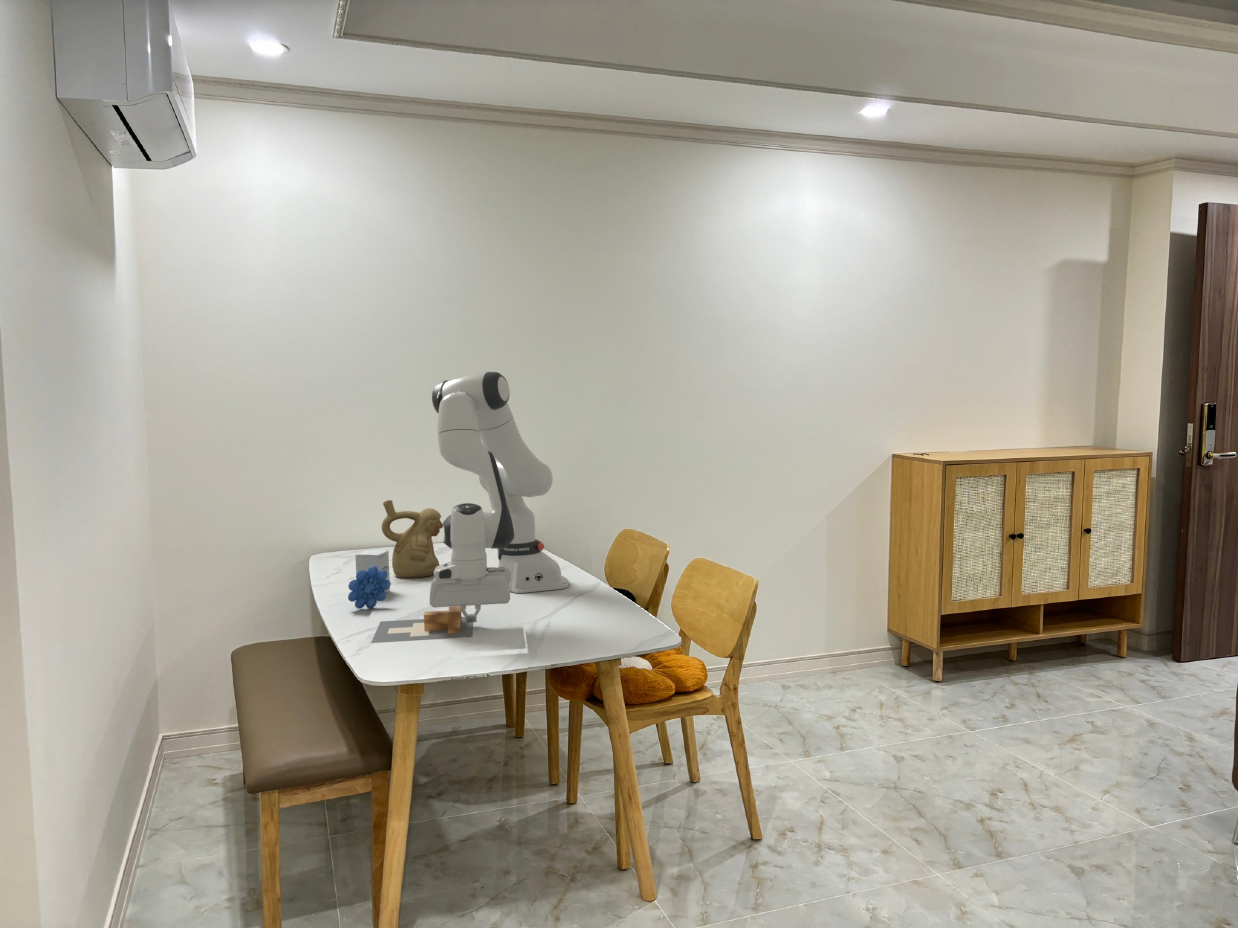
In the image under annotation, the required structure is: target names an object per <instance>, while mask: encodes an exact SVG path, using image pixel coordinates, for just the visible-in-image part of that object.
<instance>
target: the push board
mask: <svg viewBox="0 0 1238 928" xmlns="http://www.w3.org/2000/svg"><path fill="white" fill-rule="evenodd" d="M461 618H462V622H461V632H460V633H448V629H444V630H427V631H424V618H420V619H419V618H418V619H400V620H399V619H398V620H384V621H383V620H382V621H379V624H378V626H377V628H376V630H375V633H374V636H373V638H372V640H371V641H370V642H371V644H377V643H378V644H379V643H395V642H411V641H414V642H415V641H428V640H430V641H431V640H442V639H443V640H445V639H459V638H460V639H461V638H462V639H463V638H473V635H474V634H473V633H474V622H469V623H465V616H461Z"/></svg>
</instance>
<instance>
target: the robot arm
mask: <svg viewBox="0 0 1238 928" xmlns="http://www.w3.org/2000/svg"><path fill="white" fill-rule="evenodd" d="M509 399H510V387H509V384H508V381H507V378H505V376H504V375H502V374H501V373H500V372H497V371H487V372H482V373H472V374H466V375H464V376H460V377H456V378H453V379H450V380H444V381H441V382H439V383H437V384H436V385H435V386H434V388H433V390H432V394H431V402H432V405H433V408H434V410H435V412H436V413H437V441H438V448H439V453H440V455H441V457H442V458H443V459H444V460H445V461H446V462H447V463H448V464H450V465H451V466H454V467H455V468H458V469H461V470H464V471H468V472H470V473H473V474H475V475H477V476H478V478H479V483H480V485H481V487H482V488H483V489H484V490H485V491H486V493H488V494H487V495H488V498H489V502H490V503H489V504H490V506H491V509H490V510H489V511H483V507H482V506H481V505H479V504H475V503H473V502H472V503H471V502H469V503H467V502H465V503H460V504H457V505H455V506H453V507H452V509H451V514H449V515H448V516H447V517H446V518H445V519H444V521H443V522H442V524H443V541H442V542H443V544H444V545H445V546H447V547H448V548H450V549H451V551H452V552H451V556H450V559H451V561H448V562H445V563H443V564H439V566H437V567H436V568H435V570H434V575H433V578H432V579H433V580H432V581H431V585H430V589H429V591H430V592H429V605H430V607H432V608H449V607H455V606H460V610H461V614H462V615H463V617H465V623H469V622H473V623H478V621H477V620H478V619H477V618H478V615H479V613H480V611H481V610H482V609H481V607H482V606H483V605H484V606H485V605H486V606H487V605H501V604H509V602H510V600H511V592H512V593H515V594H524V593H534V592H535V593H536V592H543V591H545V592H546V591H554V590H563V589H567V588H568V587H569V583H570V582H569V579H568V578H567V577H566V576H563V574H562V571H561V567H560V564H559V562H557V561H556V560H555V559H553V558H552V557H550V556H549V555H548V554H546V553H545V552H544V551H543V550H544V549H545V544H544V543H543V542H542V541H541V540H538V539H536V519H535V514H534V512H533V511H532V510H531V509H530V508H529V507H528V506H527V504H526V503H525V501H524V497H526V498H534V497H535V498H536V497H540V496H544V495H546V494H547V493H548V492H549V491H550V490H551V488H552V485H553V478H554V477H553V472H552V469H551V468H550V467H549V465H547V464H545V463H544V462H542V461H541V460H540V459H539V458H537V457H536V455H535V454H534V453H533V452H532V450H531V449H529V447H528V445H527V444H526V443H525V441H524V440H523V438H522V436H521V434H520V431H519V429H518V426H517V423H516V421H515V419H514V415H513V413H512V412H513V411H512V410H511V408H510V405H509V403H508V402H509ZM486 549H492V550H493V549H497V551H496V553H497V558H498V567H494V566H493V567H488V562H487V561H488V558H487V555H488V554H487V552H486ZM468 606H474V609H475V611H474V613H467V610H466V609H467V607H468Z"/></svg>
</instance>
